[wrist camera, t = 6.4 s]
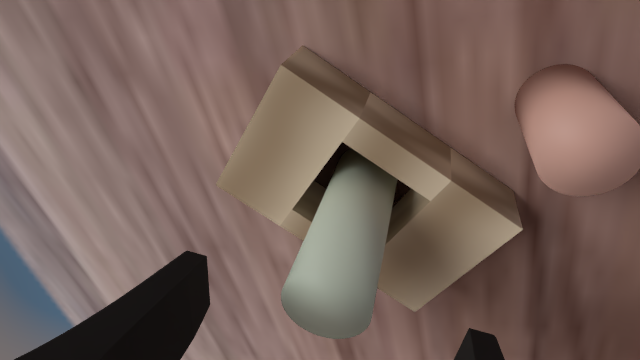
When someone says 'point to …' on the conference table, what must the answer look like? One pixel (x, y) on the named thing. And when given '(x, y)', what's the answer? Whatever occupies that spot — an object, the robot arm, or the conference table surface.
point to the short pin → (577, 132)
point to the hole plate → (386, 152)
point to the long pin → (342, 252)
